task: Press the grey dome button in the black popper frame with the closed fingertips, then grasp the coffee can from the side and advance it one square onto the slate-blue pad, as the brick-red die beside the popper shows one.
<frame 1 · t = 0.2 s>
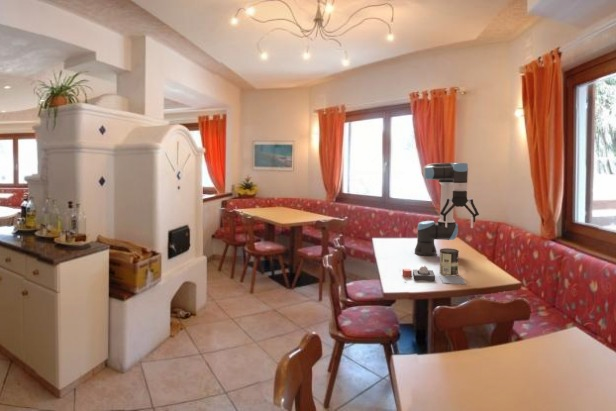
hand: (458, 227, 203), 28 cm above the table, tool pointing down, fingers open, 13 cm apart
square pad: (452, 280, 196), on the table
popper frame: (423, 277, 201), on the table
dome: (423, 269, 201), point 5 cm above the table, slide at 0.0 cm
die: (407, 276, 205), on the table
coffee can: (448, 274, 208), on the table
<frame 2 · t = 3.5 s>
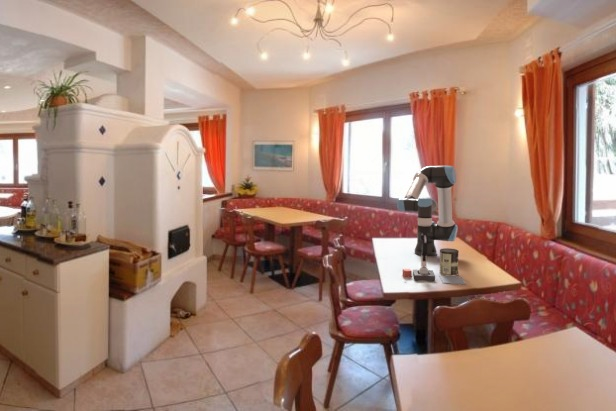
hand: (423, 266, 201), 7 cm above the table, tool pointing down, fingers closed
dome: (423, 270, 201), point 4 cm above the table, slide at -0.4 cm, touching gripper
everything else where it was.
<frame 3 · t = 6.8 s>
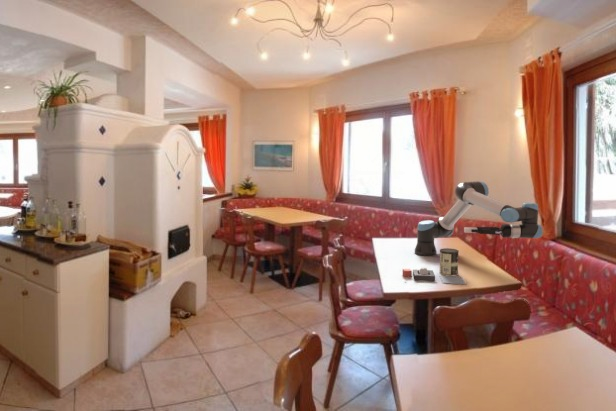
hand: (464, 230, 204), 26 cm above the table, tool horizontal, fingers closed
dome: (423, 271, 201), point 4 cm above the table, slide at -1.0 cm
everything else where it was.
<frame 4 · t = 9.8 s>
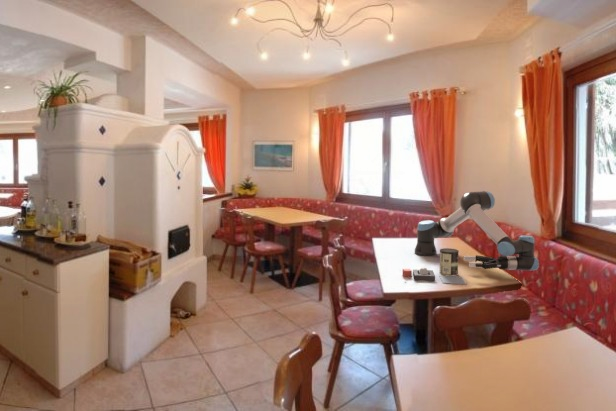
hand: (466, 261, 205), 8 cm above the table, tool horizontal, fingers open, 13 cm apart
nothing on the table moved.
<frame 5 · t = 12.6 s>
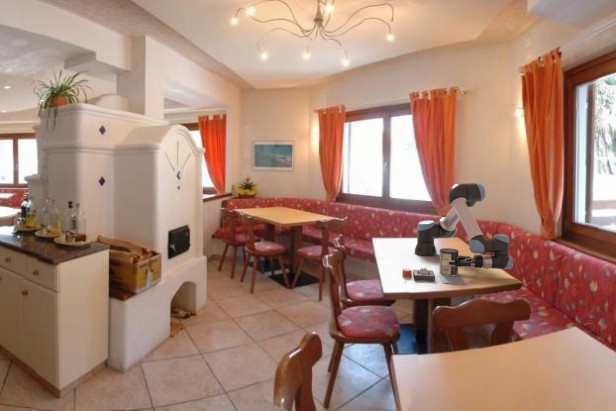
hand: (441, 260, 208), 8 cm above the table, tool horizontal, fingers closed on coffee can, 10 cm apart
coffee can: (448, 274, 208), on the table, touching gripper
everything else where it was.
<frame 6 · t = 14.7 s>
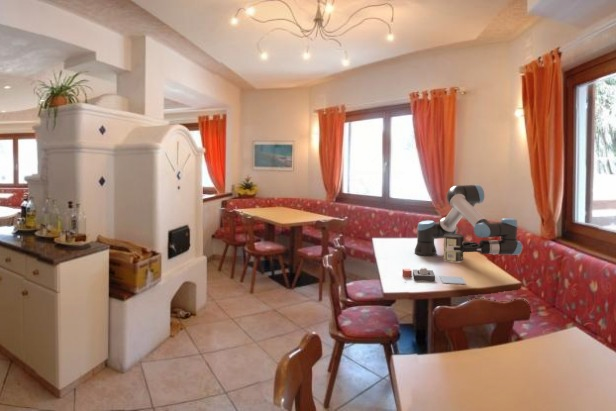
hand: (445, 246, 197), 19 cm above the table, tool horizontal, fingers closed on coffee can, 10 cm apart
coffee can: (453, 260, 197), point 11 cm above the table, touching gripper
everything else where it was.
when the fingers open (10 cm above the table, at t = 17.0 s): coffee can drops 1 cm, resting on square pad.
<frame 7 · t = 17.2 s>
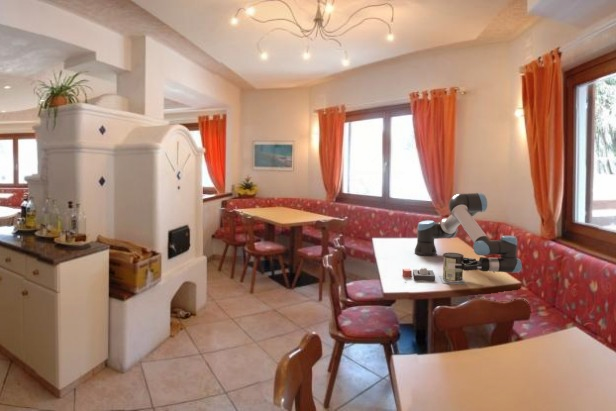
hand: (446, 262, 196), 10 cm above the table, tool horizontal, fingers open, 12 cm apart
coffee can: (452, 279, 196), resting on square pad
everything else where it was.
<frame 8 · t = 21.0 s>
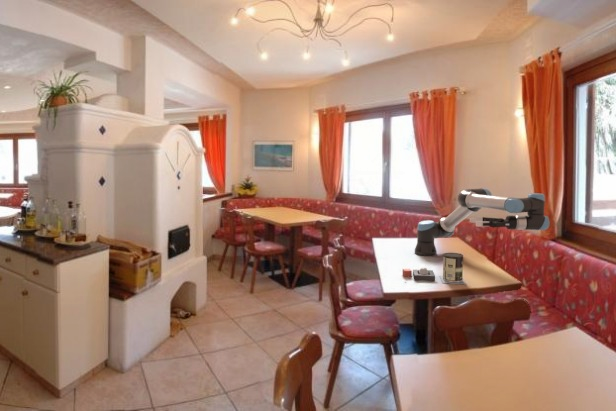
hand: (472, 221, 196), 32 cm above the table, tool horizontal, fingers open, 13 cm apart
nothing on the table moved.
at the end: coffee can inside the target area (0.1 cm from its centre), resting on square pad; coffee can tilted 0°; the gripper is holding nothing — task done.
